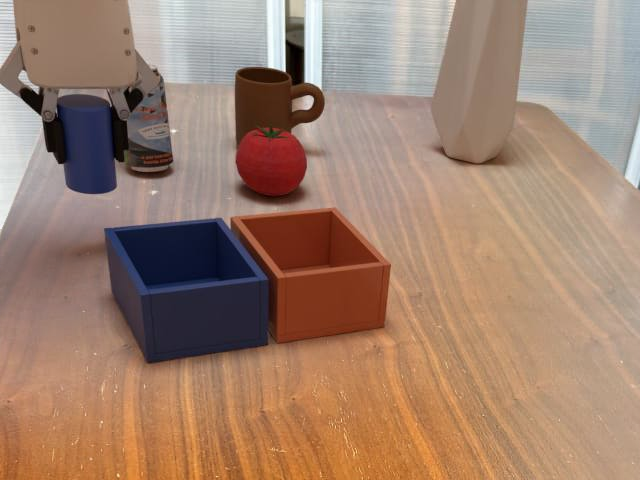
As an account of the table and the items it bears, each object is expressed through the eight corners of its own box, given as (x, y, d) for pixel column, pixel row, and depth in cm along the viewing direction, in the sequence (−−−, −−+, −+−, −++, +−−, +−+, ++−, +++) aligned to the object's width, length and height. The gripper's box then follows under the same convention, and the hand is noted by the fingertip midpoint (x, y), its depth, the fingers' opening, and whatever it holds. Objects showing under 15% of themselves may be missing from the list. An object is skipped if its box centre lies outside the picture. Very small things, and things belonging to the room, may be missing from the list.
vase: (416, 158, 126) (450, -128, 104) (439, 134, 134) (475, -135, 112) (498, 177, 124) (550, -110, 102) (516, 152, 132) (568, -119, 110)
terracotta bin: (277, 343, 85) (277, 278, 80) (231, 279, 94) (230, 216, 89) (384, 327, 90) (391, 264, 85) (332, 267, 98) (335, 207, 94)
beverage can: (140, 182, 109) (130, 77, 101) (110, 162, 113) (98, 59, 105) (184, 173, 113) (178, 71, 104) (154, 154, 116) (146, 54, 108)
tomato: (231, 201, 108) (230, 133, 103) (240, 174, 114) (239, 109, 109) (303, 208, 109) (305, 141, 103) (308, 181, 115) (310, 117, 110)
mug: (325, 147, 125) (329, 75, 119) (318, 166, 119) (322, 92, 113) (241, 135, 125) (240, 63, 118) (230, 154, 119) (229, 79, 113)
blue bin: (147, 363, 80) (140, 294, 76) (111, 293, 89) (103, 228, 84) (268, 344, 85) (268, 279, 80) (223, 280, 93) (221, 217, 89)
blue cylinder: (71, 195, 88) (61, 110, 83) (61, 176, 91) (50, 93, 86) (122, 193, 90) (115, 110, 85) (110, 174, 93) (103, 93, 88)
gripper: (153, -58, 83) (162, 143, 95) (-46, -72, 76) (-8, 147, 88) (175, -40, 78) (183, 169, 90) (-34, -53, 71) (4, 176, 83)
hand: (88, 156), depth 89 cm, fingers closed on blue cylinder, 5 cm apart
